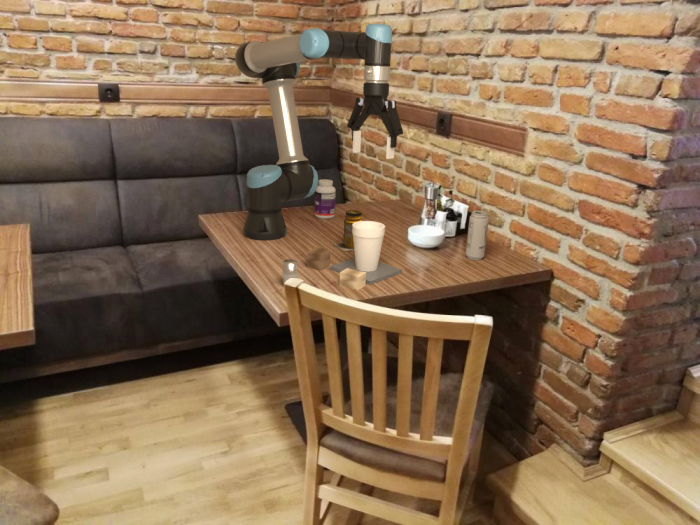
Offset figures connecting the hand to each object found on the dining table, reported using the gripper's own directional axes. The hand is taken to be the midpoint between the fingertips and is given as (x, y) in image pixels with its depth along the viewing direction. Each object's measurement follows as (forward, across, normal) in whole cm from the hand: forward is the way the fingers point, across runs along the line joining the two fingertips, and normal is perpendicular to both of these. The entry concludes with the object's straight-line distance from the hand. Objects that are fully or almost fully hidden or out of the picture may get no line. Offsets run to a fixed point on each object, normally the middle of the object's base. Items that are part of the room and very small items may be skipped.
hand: (372, 155), depth 169 cm
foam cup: (+31, +10, -12) cm, 34 cm away
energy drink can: (+32, +25, +24) cm, 47 cm away
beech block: (+32, +15, -23) cm, 42 cm away
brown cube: (+32, -2, -20) cm, 38 cm away
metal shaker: (+32, +4, -36) cm, 48 cm away
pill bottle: (+32, -41, +20) cm, 56 cm away
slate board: (+32, +10, -12) cm, 35 cm away
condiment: (+32, -9, +1) cm, 33 cm away
